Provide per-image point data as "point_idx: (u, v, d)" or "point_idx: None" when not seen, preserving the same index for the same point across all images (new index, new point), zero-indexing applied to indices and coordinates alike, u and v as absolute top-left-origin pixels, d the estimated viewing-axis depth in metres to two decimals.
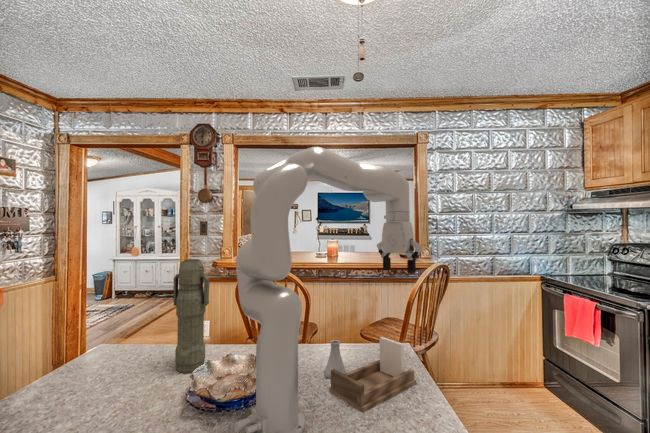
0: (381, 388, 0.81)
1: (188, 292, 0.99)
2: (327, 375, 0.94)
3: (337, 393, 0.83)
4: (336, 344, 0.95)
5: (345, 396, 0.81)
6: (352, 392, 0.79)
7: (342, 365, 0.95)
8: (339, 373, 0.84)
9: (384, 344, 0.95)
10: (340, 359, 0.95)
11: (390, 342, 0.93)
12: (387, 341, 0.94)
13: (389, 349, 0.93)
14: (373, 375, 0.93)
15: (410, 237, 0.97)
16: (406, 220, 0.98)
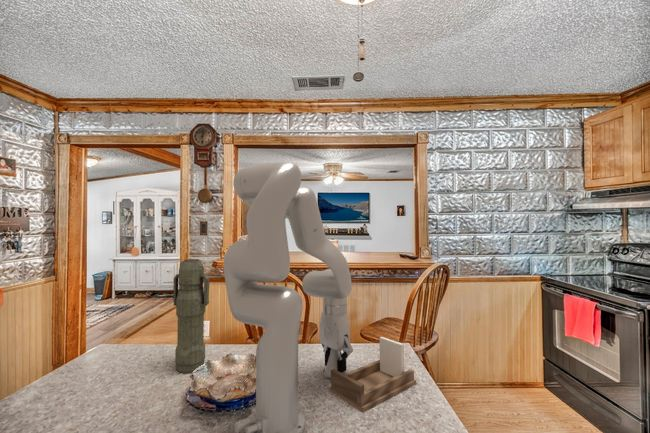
0: (381, 388, 0.81)
1: (188, 292, 0.99)
2: (327, 375, 0.94)
3: (337, 393, 0.83)
4: None
5: (345, 396, 0.81)
6: (352, 392, 0.79)
7: None
8: (339, 373, 0.84)
9: (384, 344, 0.95)
10: None
11: (390, 342, 0.93)
12: (387, 341, 0.94)
13: (389, 349, 0.93)
14: (373, 375, 0.93)
15: (345, 333, 0.93)
16: (341, 314, 0.94)
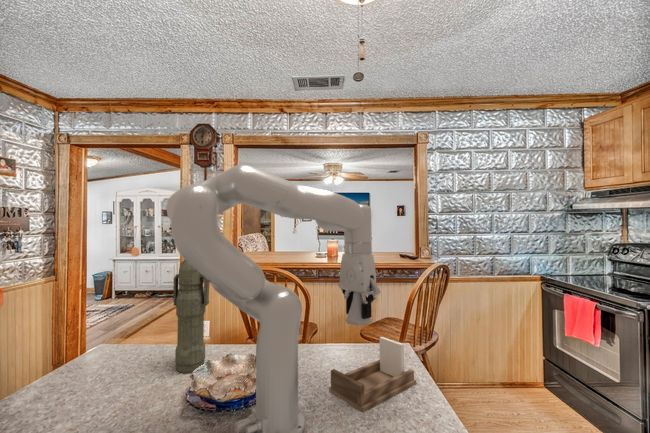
0: (381, 388, 0.81)
1: (188, 292, 0.99)
2: (350, 321, 0.83)
3: (337, 393, 0.83)
4: None
5: (345, 396, 0.81)
6: (352, 392, 0.79)
7: None
8: (339, 373, 0.84)
9: (384, 344, 0.95)
10: None
11: (390, 342, 0.93)
12: (387, 341, 0.94)
13: (389, 349, 0.93)
14: (373, 375, 0.93)
15: (371, 274, 0.82)
16: (366, 253, 0.83)
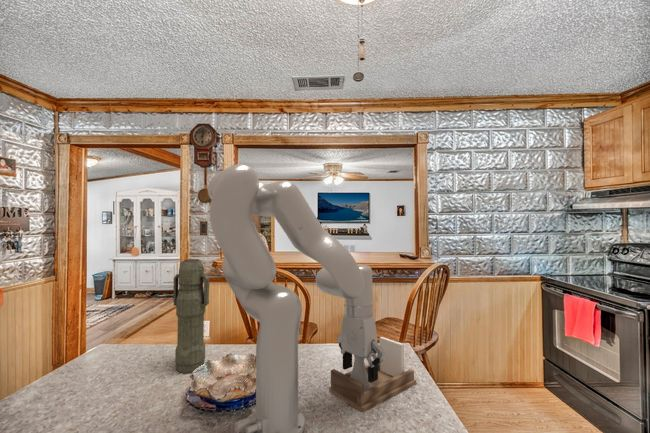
0: (381, 388, 0.81)
1: (188, 292, 0.99)
2: None
3: (337, 393, 0.83)
4: None
5: (345, 396, 0.81)
6: (352, 392, 0.79)
7: (367, 380, 0.83)
8: (339, 373, 0.84)
9: (384, 344, 0.95)
10: (365, 373, 0.83)
11: (390, 342, 0.93)
12: (387, 341, 0.94)
13: (389, 349, 0.93)
14: None
15: (372, 338, 0.81)
16: (367, 316, 0.82)
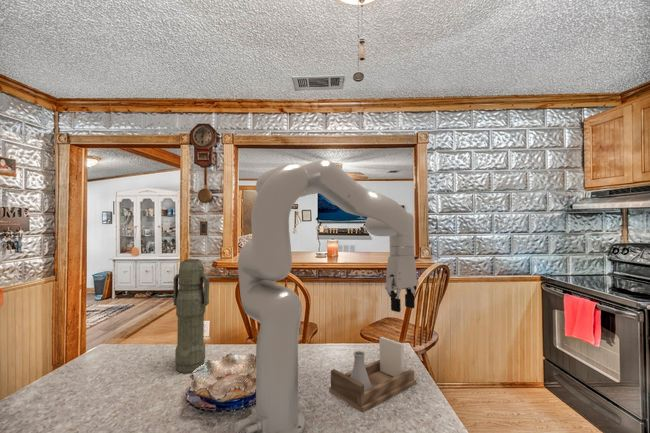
0: (381, 388, 0.81)
1: (188, 292, 0.99)
2: None
3: (337, 393, 0.83)
4: (361, 356, 0.83)
5: (345, 396, 0.81)
6: (352, 392, 0.79)
7: (367, 380, 0.83)
8: (339, 373, 0.84)
9: (384, 344, 0.95)
10: (365, 373, 0.83)
11: (390, 342, 0.93)
12: (387, 341, 0.94)
13: (389, 349, 0.93)
14: (373, 375, 0.93)
15: (391, 273, 0.95)
16: (393, 255, 0.96)
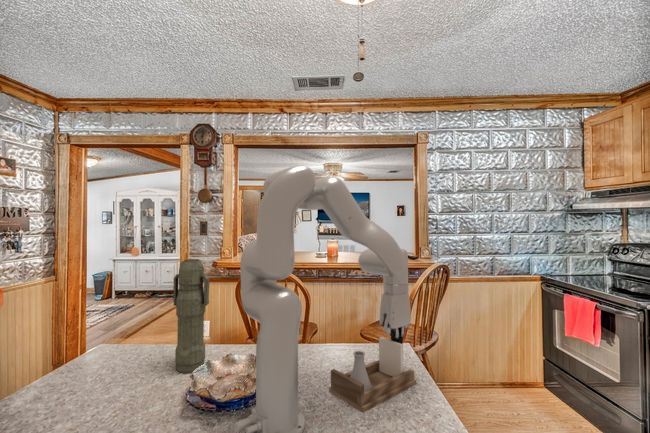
0: (381, 388, 0.81)
1: (188, 292, 0.99)
2: None
3: (337, 393, 0.83)
4: (361, 356, 0.83)
5: (345, 396, 0.81)
6: (352, 392, 0.79)
7: (367, 380, 0.83)
8: (339, 373, 0.84)
9: (383, 344, 0.94)
10: (365, 373, 0.83)
11: (389, 342, 0.93)
12: (386, 341, 0.94)
13: (388, 349, 0.93)
14: (373, 375, 0.93)
15: (385, 312, 0.92)
16: (387, 293, 0.94)
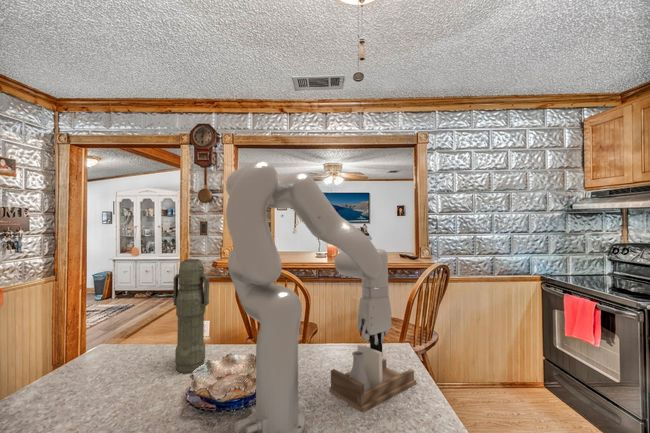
0: (381, 388, 0.81)
1: (188, 292, 0.99)
2: None
3: (337, 393, 0.83)
4: (360, 356, 0.83)
5: (345, 396, 0.81)
6: (352, 392, 0.79)
7: (366, 380, 0.83)
8: (339, 373, 0.84)
9: None
10: (364, 373, 0.83)
11: (368, 350, 0.87)
12: (365, 349, 0.88)
13: (367, 357, 0.87)
14: None
15: (362, 317, 0.86)
16: (365, 296, 0.88)
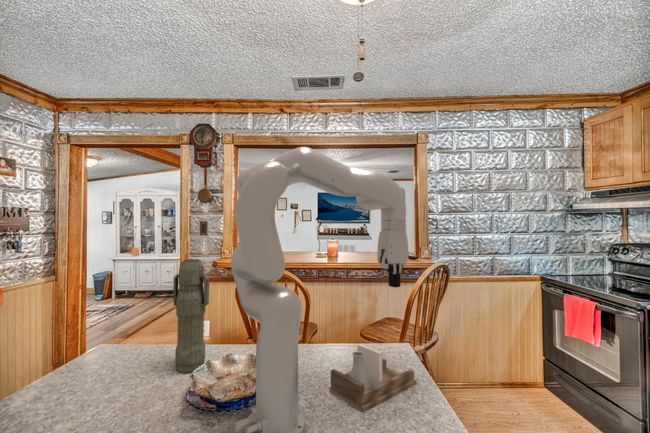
0: (381, 388, 0.81)
1: (188, 292, 0.99)
2: None
3: (337, 393, 0.83)
4: (360, 356, 0.83)
5: (345, 396, 0.81)
6: (352, 392, 0.79)
7: (366, 380, 0.83)
8: (339, 373, 0.84)
9: None
10: (364, 373, 0.83)
11: (368, 350, 0.87)
12: (365, 349, 0.88)
13: (367, 357, 0.87)
14: None
15: (382, 247, 0.93)
16: (384, 229, 0.94)
